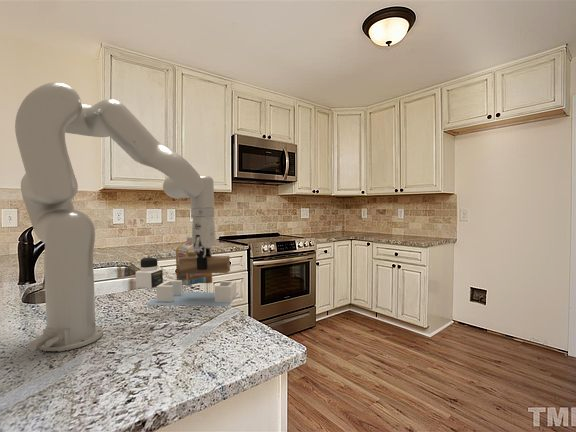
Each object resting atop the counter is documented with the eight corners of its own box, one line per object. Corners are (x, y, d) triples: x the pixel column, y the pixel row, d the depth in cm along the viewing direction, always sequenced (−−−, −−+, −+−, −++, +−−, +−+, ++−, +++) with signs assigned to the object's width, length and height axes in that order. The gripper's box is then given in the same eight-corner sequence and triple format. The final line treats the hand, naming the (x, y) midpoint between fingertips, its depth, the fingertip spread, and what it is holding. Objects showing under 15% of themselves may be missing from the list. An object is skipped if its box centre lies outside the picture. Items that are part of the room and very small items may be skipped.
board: (228, 309, 93) (228, 305, 93) (144, 308, 95) (144, 304, 95) (238, 295, 107) (238, 292, 107) (165, 294, 109) (165, 292, 109)
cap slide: (172, 301, 98) (171, 286, 97) (156, 301, 98) (156, 286, 98) (182, 294, 105) (182, 280, 105) (168, 294, 106) (167, 280, 106)
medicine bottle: (152, 290, 115) (151, 259, 114) (135, 290, 116) (134, 259, 116) (163, 285, 122) (162, 256, 121) (147, 285, 123) (146, 256, 123)
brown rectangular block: (227, 272, 98) (226, 257, 98) (179, 273, 99) (179, 258, 99) (230, 270, 102) (229, 255, 102) (184, 271, 103) (183, 256, 103)
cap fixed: (230, 302, 96) (230, 287, 96) (214, 302, 97) (214, 286, 97) (236, 295, 104) (236, 281, 104) (221, 295, 104) (221, 281, 104)
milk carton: (176, 283, 126) (175, 238, 125) (199, 278, 133) (198, 236, 133) (188, 287, 118) (187, 239, 118) (212, 282, 126) (211, 237, 125)
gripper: (205, 214, 91) (206, 274, 92) (221, 212, 108) (222, 263, 109) (181, 214, 92) (183, 274, 93) (200, 212, 108) (202, 263, 109)
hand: (204, 267), depth 101 cm, fingers closed on brown rectangular block, 3 cm apart
